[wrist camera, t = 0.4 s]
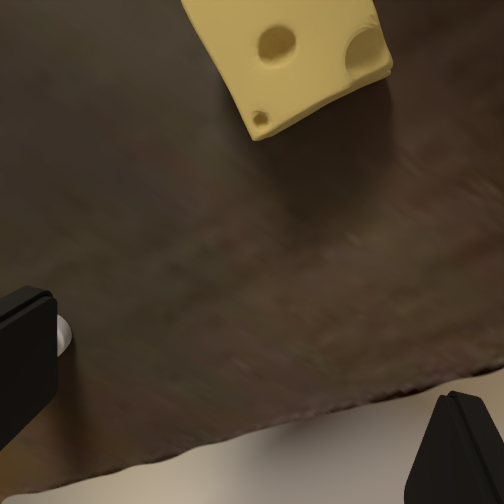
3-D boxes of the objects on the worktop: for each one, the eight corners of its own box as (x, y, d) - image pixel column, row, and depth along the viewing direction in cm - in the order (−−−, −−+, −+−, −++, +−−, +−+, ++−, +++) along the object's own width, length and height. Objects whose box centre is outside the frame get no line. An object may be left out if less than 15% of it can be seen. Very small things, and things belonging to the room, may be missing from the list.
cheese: (388, 76, 33) (408, 61, 24) (270, 141, 36) (246, 151, 27) (332, -56, 31) (329, -128, 22) (212, 26, 34) (165, -6, 25)
